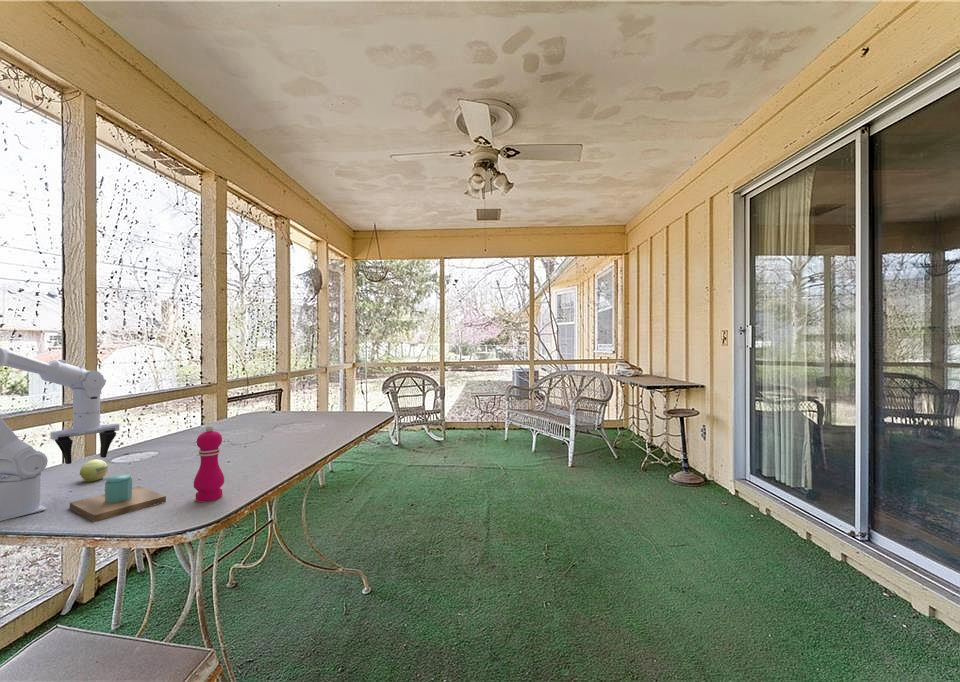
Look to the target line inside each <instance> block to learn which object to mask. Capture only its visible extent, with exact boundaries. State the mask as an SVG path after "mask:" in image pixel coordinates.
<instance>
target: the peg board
mask: <svg viewBox="0 0 960 682" xmlns="http://www.w3.org/2000/svg"><path fill="white" fill-rule="evenodd" d="M162 502H163V503H165V502H167V496H166V495H165V494H161V493H159V492H156V491H154V490H151V489H148V488H145V487H143V486H140V485H139V486H134V487H133V486H132V497H131V498H130V499H128V500H125V501H121V502H115V503H107V502H105V493H104V494H99V495H95V496H91V497H88V498H82V499H78V500H74V501H70V502H69V509H70V510H72V511H74V512H76V513H77V514H79V515H81V516H83V517H85V518H87V519H88V520H91V521H92V522H98V521H101V520H105V519H109V518H111V517H116V516H120V515H123V514H126V513H130V512H134V511H136V510H141V509H145V508H148V507H147V506H149V507H151V505H152V506H154V504H156V505H158V503H159V504H162ZM144 507H145V508H144Z"/></svg>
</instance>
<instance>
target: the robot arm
mask: <svg viewBox="0 0 960 682" xmlns="http://www.w3.org/2000/svg"><path fill="white" fill-rule="evenodd" d="M0 367H8V368H13V369H15V370H16V369H17V370H19V371H24V372H29V373H34V374H38V375H39V377H40V379H41V380H42V381H45V382H48V383H52V384H56V385H60V386H64V387H68V388H69V389H70V390H72V427H71V428H68V429H62V430H56V431H50V436H49V437H50V438H49V439H50V440H53V441H54V442H55V443H56V445H57V446H58V447H59V449H60V451H61V454H62V455H63V459H64V463H65V464H66V465H70V464H72V446H73V442H74V441H73V439H71V438H72V437H78V436H86V435H95V434H98V435H99V441H100V449H99V453H100V454H99V455H100V458H101V459H102V458H107V455H108V451H109V448H110V446H111V444H112V442H113V441H114V439H115V438H116V436H117V431H118V432H119V431H120V424H119V423H110V424H109V423H108V424H101V395H102V389H103V388H104V387H105V385H106V382H107V379H105V378H104V375H103V374H102V373H101V372H100V371H97V370H87V369H86V367H85V366H81V365H80V366H76V365H72V364H69V363H68V360H65V359H58V360H56V359H55V360H51V361H50V360H49V361H48V362H46V361H43V360H40V359H36V358H34V357H30V356H28V355H24V354H22V353H18V352H15V351H13V350H9V349H6V348H3V347H0ZM48 461H49V460H48V457H47V455H46V454H45V453H44V452H42V451H38V450H37V449H34V448H33V446H32V445H31V444H29V443H27V442H25V441H23V440H21V438H19V437H18V436H17V434H16V433H15V432H14V431H13V430H12V429H11V428H10V426H9V425H8V424H7V423H6V422H5V420H3V418H2V417H1V416H0V522H2V521H6V520H9V519H14V518H18V517H22V516H26V515H32V514H36V513H39V512H44V511H47V507H45V506H43V505H42V504H41V476H42V472H43V471H45V470H46V467H47V465H48Z"/></svg>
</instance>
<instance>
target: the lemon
mask: <svg viewBox="0 0 960 682" xmlns="http://www.w3.org/2000/svg"><path fill="white" fill-rule="evenodd" d="M108 471H109V466H108V464H107V463H106V462H105V461H104V460H102V459H96V458H95V459H92V460H91V459H90V460H89V461H87V462H85V463H83V465H82V466H81V468H80V470H79V476H80V477H81V478H82V480H84V481H86V482H87V483H89V482H94V481H99V480H101V479H103V478H104V477H106V475H107V473H108Z"/></svg>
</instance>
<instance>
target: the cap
mask: <svg viewBox="0 0 960 682" xmlns="http://www.w3.org/2000/svg"><path fill="white" fill-rule="evenodd" d="M132 488H133V478H132V474H125V473H124V474H117V475H112V476H109V477H107V478H105V482H104V494H105V502H107V503H115V502H121V501H125V500H128V499H130V498H131V497H132Z"/></svg>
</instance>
